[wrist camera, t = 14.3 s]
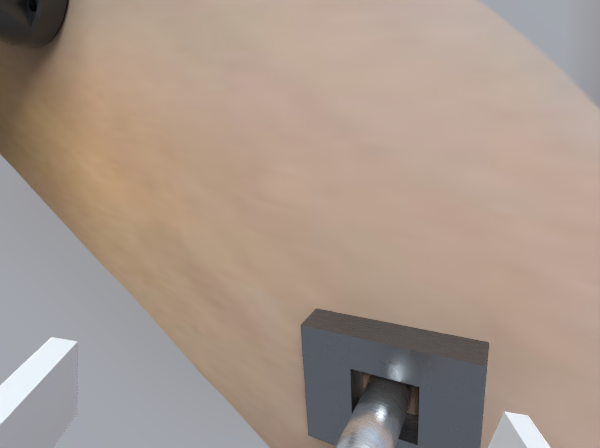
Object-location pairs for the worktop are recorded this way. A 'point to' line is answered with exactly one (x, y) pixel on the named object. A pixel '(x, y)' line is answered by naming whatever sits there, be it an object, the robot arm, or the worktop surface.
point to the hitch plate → (394, 377)
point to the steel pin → (378, 415)
